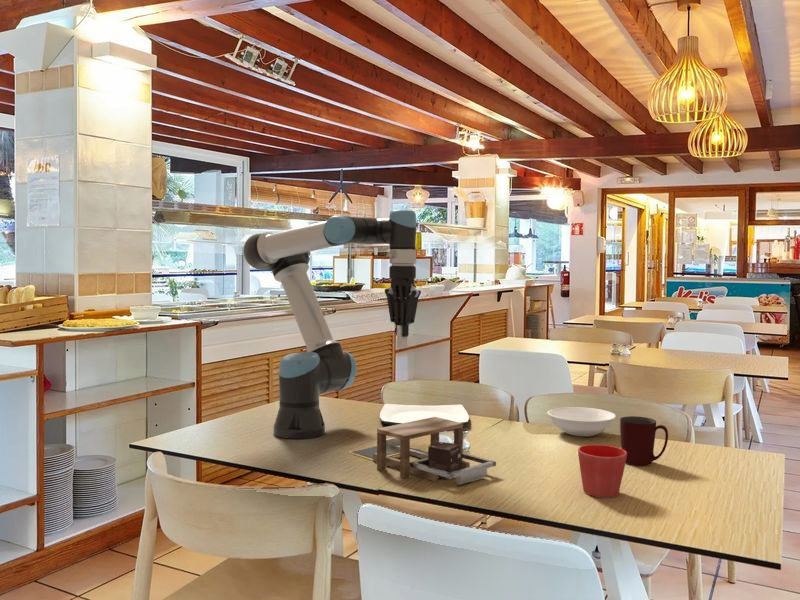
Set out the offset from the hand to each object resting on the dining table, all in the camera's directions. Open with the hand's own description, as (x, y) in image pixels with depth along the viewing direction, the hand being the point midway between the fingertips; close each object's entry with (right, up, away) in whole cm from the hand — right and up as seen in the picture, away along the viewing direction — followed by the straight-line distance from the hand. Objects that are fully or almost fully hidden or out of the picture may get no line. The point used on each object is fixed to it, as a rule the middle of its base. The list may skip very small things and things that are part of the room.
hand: (402, 347), depth 215 cm
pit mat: (-7, -27, -13) cm, 31 cm away
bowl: (+53, -27, +9) cm, 60 cm away
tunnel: (+5, -28, -25) cm, 38 cm away
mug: (+62, -29, -21) cm, 71 cm away
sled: (+7, -28, -27) cm, 40 cm away
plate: (+7, -25, +28) cm, 38 cm away
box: (+10, -29, -32) cm, 45 cm away
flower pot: (+45, -30, -45) cm, 70 cm away
